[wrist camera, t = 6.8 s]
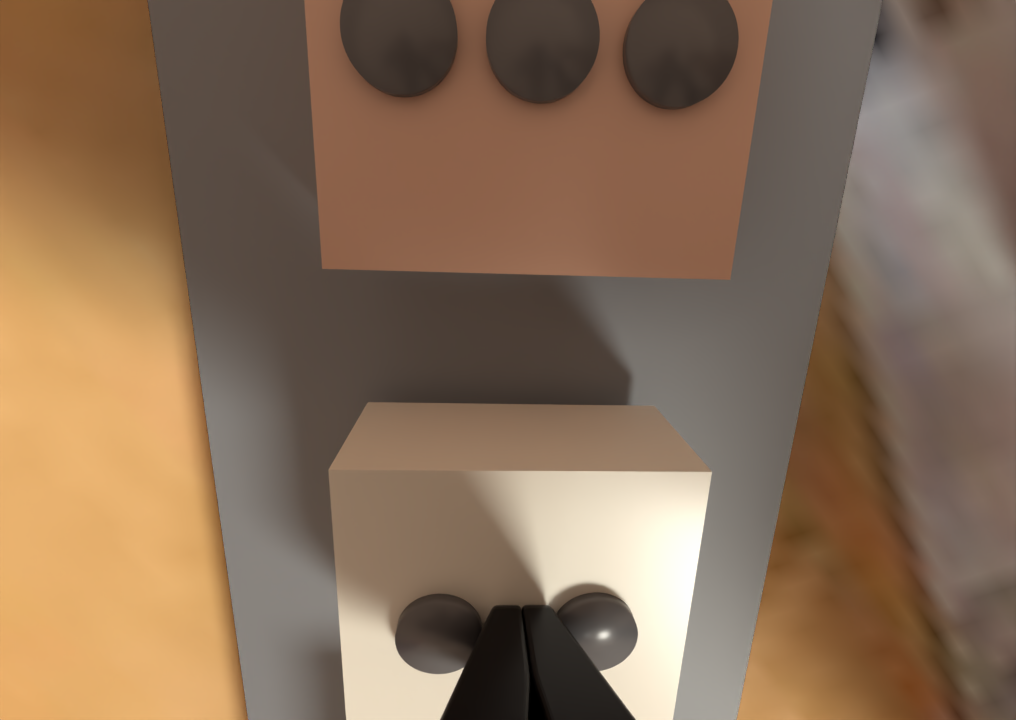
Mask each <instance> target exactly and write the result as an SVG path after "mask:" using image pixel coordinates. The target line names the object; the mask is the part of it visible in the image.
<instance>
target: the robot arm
mask: <svg viewBox="0 0 1016 720" xmlns="http://www.w3.org/2000/svg"><path fill="white" fill-rule="evenodd" d="M440 720H636V719H635V718H634V716H633V715H632V714H631V712H630V711H629V710H628V708H627V707H626V706H625V704H624V703H623V702H622V700H621V699H620V698H619V696H618V695H617V694H616V692H615V691H614V690H613V688H612V687H611V686H610V684H609V683H608V682H607V680H606V679H605V678H604V676H603V675H602V674H601V672H600V671H599V670H598V668H597V667H596V666H595V664H594V663H593V662H592V660H591V659H590V658H589V656H588V655H587V654H586V652H585V651H584V650H583V648H582V647H581V646H580V644H579V643H578V642H577V640H576V639H575V638H574V636H573V635H572V634H571V632H570V631H569V630H568V628H567V627H566V626H565V624H564V623H563V622H562V620H561V619H560V618H559V616H558V615H557V614H556V612H555V611H554V610H553V608H552V607H550V606H549V605H524V606H523V607H522V609H521V607H520V606H518V605H495V606H494V607H493V608H492V609H491V611H490V613H489V615H488V617H487V619H486V621H485V623H484V626H483V628H482V630H481V632H480V634H479V636H478V639H477V641H476V643H475V645H474V647H473V649H472V651H471V654H470V656H469V658H468V660H467V662H466V664H465V667H464V669H463V671H462V673H461V675H460V677H459V680H458V682H457V684H456V686H455V688H454V690H453V693H452V695H451V697H450V699H449V701H448V703H447V705H446V708H445V710H444V712H443V714H442V716H441V718H440Z"/></svg>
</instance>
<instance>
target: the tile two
mask: <svg viewBox="0 0 1016 720" xmlns="http://www.w3.org/2000/svg"><path fill="white" fill-rule="evenodd" d="M328 471H329V486H330V500H331V514H332V528H333V542H334V556H335V570H336V584H337V598H338V612H339V626H340V640H341V654H342V669H343V683H344V697H345V711H346V720H440V718H441V716H442V714H443V712H444V710H445V708H446V705H447V703H448V701H449V699H450V697H451V695H452V693H453V690H454V688H455V686H456V684H457V682H458V680H459V677H460V675H461V673H462V671H463V669H464V667H465V664H466V662H467V660H468V658H469V656H470V654H471V651H472V649H473V647H474V645H475V643H476V641H477V639H478V636H479V634H480V632H481V630H482V628H483V626H484V623H485V621H486V619H487V617H488V615H489V613H490V611H491V609H492V608H493V607H494V606H495V605H518V606H520V607H521V609H522V607H523V606H524V605H549V606H550V607H552V608H553V610H554V611H555V612H556V614H557V615H558V616H559V618H560V619H561V620H562V622H563V623H564V624H565V626H566V627H567V628H568V630H569V631H570V632H571V634H572V635H573V636H574V638H575V639H576V640H577V642H578V643H579V644H580V646H581V647H582V648H583V650H584V651H585V652H586V654H587V655H588V656H589V658H590V659H591V660H592V662H593V663H594V664H595V666H596V667H597V668H598V670H599V671H600V672H601V674H602V675H603V676H604V678H605V679H606V680H607V682H608V683H609V684H610V686H611V687H612V688H613V690H614V691H615V692H616V694H617V695H618V696H619V698H620V699H621V700H622V702H623V703H624V704H625V706H626V707H627V708H628V710H629V711H630V712H631V714H632V715H633V716H634V718H635V719H636V720H673V716H674V709H675V703H676V697H677V690H678V684H679V678H680V671H681V665H682V659H683V652H684V646H685V640H686V634H687V627H688V621H689V615H690V608H691V602H692V596H693V589H694V583H695V577H696V570H697V564H698V558H699V551H700V545H701V539H702V533H703V526H704V520H705V514H706V507H707V501H708V495H709V488H710V482H711V476H712V471H711V470H710V469H709V468H708V467H707V465H706V464H705V463H704V462H703V461H702V460H701V459H700V457H699V456H698V455H697V454H696V453H695V452H694V451H693V449H692V448H691V447H690V446H689V445H688V444H687V443H686V441H685V440H684V439H683V438H682V437H681V436H680V435H679V433H678V432H677V431H676V430H675V429H674V428H673V427H672V425H671V424H670V423H669V422H668V421H667V420H666V419H665V417H664V416H663V415H662V414H661V413H660V412H659V411H658V409H657V408H656V407H655V406H632V405H553V404H475V403H396V402H368V403H367V404H366V406H365V408H364V410H363V411H362V413H361V415H360V416H359V418H358V420H357V422H356V423H355V425H354V427H353V428H352V430H351V432H350V434H349V435H348V437H347V439H346V440H345V442H344V444H343V446H342V447H341V449H340V451H339V452H338V454H337V456H336V458H335V459H334V461H333V463H332V464H331V466H330V468H329V470H328Z"/></svg>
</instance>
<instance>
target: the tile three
mask: <svg viewBox="0 0 1016 720" xmlns="http://www.w3.org/2000/svg"><path fill="white" fill-rule="evenodd" d="M772 1H773V0H304V4H305V19H306V34H307V49H308V64H309V79H310V94H311V109H312V124H313V138H314V153H315V168H316V183H317V198H318V213H319V228H320V243H321V258H322V269H347V270H384V271H421V272H458V273H496V274H533V275H570V276H607V277H644V278H681V279H718V280H730V278H731V271H732V265H733V258H734V252H735V245H736V239H737V232H738V225H739V219H740V212H741V206H742V199H743V192H744V186H745V179H746V173H747V166H748V160H749V153H750V146H751V140H752V133H753V127H754V120H755V113H756V107H757V100H758V94H759V87H760V81H761V74H762V67H763V61H764V54H765V48H766V41H767V34H768V28H769V21H770V15H771V8H772Z"/></svg>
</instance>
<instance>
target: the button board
mask: <svg viewBox="0 0 1016 720" xmlns="http://www.w3.org/2000/svg"><path fill="white" fill-rule="evenodd" d="M882 1H883V0H773V1H772V8H771V15H770V21H769V28H768V34H767V41H766V48H765V54H764V61H763V67H762V74H761V81H760V87H759V94H758V100H757V107H756V113H755V120H754V127H753V133H752V140H751V146H750V153H749V160H748V166H747V173H746V179H745V186H744V192H743V199H742V206H741V212H740V219H739V225H738V232H737V239H736V245H735V252H734V258H733V265H732V271H731V278H730V280H718V279H681V278H644V277H607V276H570V275H533V274H496V273H458V272H421V271H384V270H347V269H322V258H321V243H320V228H319V213H318V198H317V183H316V168H315V153H314V138H313V124H312V109H311V94H310V79H309V64H308V49H307V34H306V19H305V4H304V0H148V7H149V14H150V21H151V28H152V36H153V43H154V50H155V57H156V64H157V71H158V79H159V86H160V93H161V100H162V107H163V114H164V121H165V129H166V136H167V143H168V150H169V157H170V164H171V171H172V179H173V186H174V193H175V200H176V207H177V214H178V222H179V229H180V236H181V243H182V250H183V257H184V264H185V272H186V279H187V286H188V293H189V300H190V307H191V314H192V322H193V329H194V336H195V343H196V350H197V357H198V365H199V372H200V379H201V386H202V393H203V400H204V407H205V415H206V422H207V429H208V436H209V443H210V450H211V457H212V465H213V472H214V479H215V486H216V493H217V500H218V508H219V515H220V522H221V529H222V536H223V543H224V550H225V558H226V565H227V572H228V579H229V586H230V593H231V600H232V608H233V615H234V622H235V629H236V636H237V643H238V651H239V658H240V665H241V672H242V679H243V686H244V693H245V701H246V708H247V715H248V720H346V711H345V697H344V683H343V669H342V654H341V640H340V626H339V612H338V598H337V584H336V570H335V556H334V542H333V528H332V514H331V500H330V486H329V471H328V470H329V468H330V466H331V464H332V463H333V461H334V459H335V458H336V456H337V454H338V452H339V451H340V449H341V447H342V446H343V444H344V442H345V440H346V439H347V437H348V435H349V434H350V432H351V430H352V428H353V427H354V425H355V423H356V422H357V420H358V418H359V416H360V415H361V413H362V411H363V410H364V408H365V406H366V404H367V403H368V402H396V403H475V404H553V405H632V406H655V407H656V408H657V409H658V411H659V412H660V413H661V414H662V415H663V416H664V417H665V419H666V420H667V421H668V422H669V423H670V424H671V425H672V427H673V428H674V429H675V430H676V431H677V432H678V433H679V435H680V436H681V437H682V438H683V439H684V440H685V441H686V443H687V444H688V445H689V446H690V447H691V448H692V449H693V451H694V452H695V453H696V454H697V455H698V456H699V457H700V459H701V460H702V461H703V462H704V463H705V464H706V465H707V467H708V468H709V469H710V470H711V471H712V476H711V482H710V488H709V495H708V501H707V507H706V514H705V520H704V526H703V533H702V539H701V545H700V551H699V558H698V564H697V570H696V577H695V583H694V589H693V596H692V602H691V608H690V615H689V621H688V627H687V634H686V640H685V646H684V652H683V659H682V665H681V671H680V678H679V684H678V690H677V697H676V703H675V709H674V716H673V720H737V715H738V710H739V705H740V700H741V695H742V690H743V685H744V680H745V675H746V670H747V665H748V661H749V656H750V651H751V646H752V641H753V636H754V631H755V626H756V621H757V616H758V611H759V606H760V601H761V597H762V592H763V587H764V582H765V577H766V572H767V567H768V562H769V557H770V552H771V547H772V542H773V537H774V533H775V528H776V523H777V518H778V513H779V508H780V503H781V498H782V493H783V488H784V483H785V478H786V473H787V469H788V464H789V459H790V454H791V449H792V444H793V439H794V434H795V429H796V424H797V419H798V414H799V409H800V405H801V400H802V395H803V390H804V385H805V380H806V375H807V370H808V365H809V360H810V355H811V350H812V345H813V341H814V336H815V331H816V326H817V321H818V316H819V311H820V306H821V301H822V296H823V291H824V286H825V282H826V277H827V272H828V267H829V262H830V257H831V252H832V247H833V242H834V237H835V232H836V227H837V222H838V218H839V213H840V208H841V203H842V198H843V193H844V188H845V183H846V178H847V173H848V168H849V163H850V158H851V154H852V149H853V144H854V139H855V134H856V129H857V124H858V119H859V114H860V109H861V104H862V99H863V94H864V90H865V85H866V80H867V75H868V70H869V65H870V60H871V55H872V50H873V45H874V40H875V35H876V30H877V26H878V21H879V16H880V11H881V6H882Z"/></svg>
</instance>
